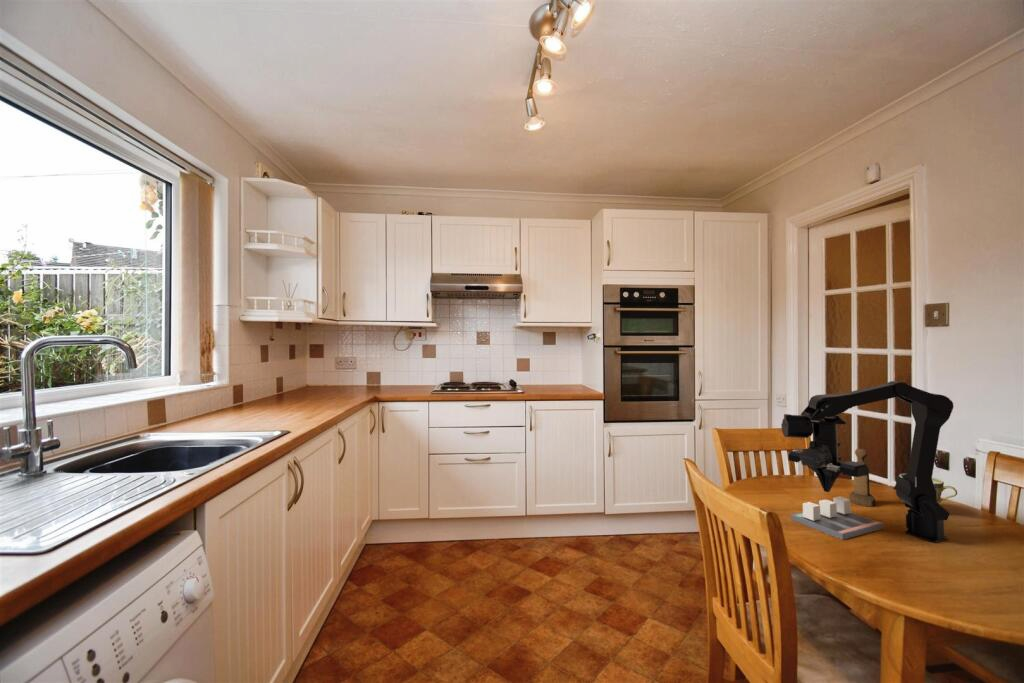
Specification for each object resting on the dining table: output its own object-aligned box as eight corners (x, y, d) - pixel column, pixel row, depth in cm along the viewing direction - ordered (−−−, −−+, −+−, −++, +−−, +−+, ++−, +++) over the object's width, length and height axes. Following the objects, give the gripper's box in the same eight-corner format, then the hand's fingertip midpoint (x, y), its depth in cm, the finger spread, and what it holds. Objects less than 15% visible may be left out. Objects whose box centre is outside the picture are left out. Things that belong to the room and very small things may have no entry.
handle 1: (820, 519, 118) (820, 505, 118) (813, 520, 117) (813, 507, 117) (809, 515, 120) (809, 501, 120) (802, 516, 119) (802, 503, 119)
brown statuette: (845, 501, 135) (843, 447, 136) (855, 497, 138) (854, 445, 138) (869, 508, 129) (867, 452, 130) (879, 504, 132) (878, 450, 132)
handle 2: (836, 516, 119) (836, 502, 119) (830, 517, 118) (829, 504, 118) (825, 512, 122) (825, 499, 122) (819, 514, 121) (819, 500, 121)
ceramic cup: (894, 507, 130) (893, 476, 130) (907, 501, 134) (906, 471, 135) (951, 522, 118) (950, 488, 118) (964, 515, 123) (963, 483, 123)
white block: (850, 512, 122) (850, 499, 122) (844, 514, 121) (844, 501, 121) (839, 509, 124) (839, 496, 124) (833, 510, 123) (833, 497, 123)
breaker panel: (882, 528, 115) (882, 523, 115) (842, 539, 109) (842, 534, 109) (829, 510, 128) (829, 505, 128) (790, 519, 122) (790, 514, 122)
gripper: (775, 435, 123) (776, 485, 123) (843, 448, 106) (845, 507, 106) (799, 431, 127) (801, 480, 127) (869, 444, 110) (871, 501, 110)
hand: (826, 491), depth 117 cm, fingers closed
